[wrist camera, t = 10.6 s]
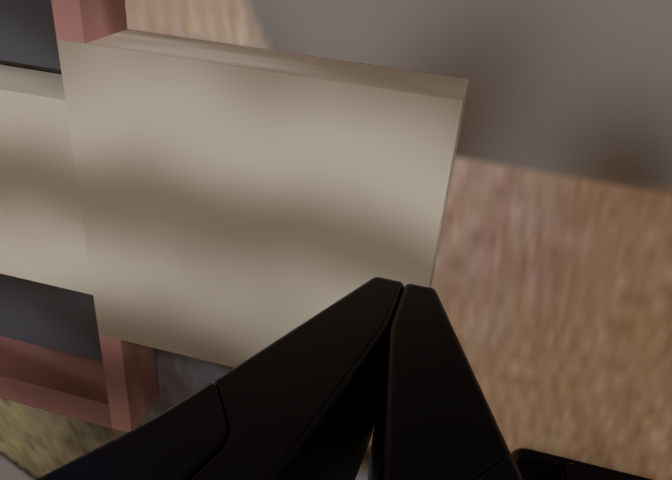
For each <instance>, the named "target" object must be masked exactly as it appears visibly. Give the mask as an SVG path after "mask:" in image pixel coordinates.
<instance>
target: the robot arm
mask: <svg viewBox="0 0 672 480" xmlns="http://www.w3.org/2000/svg"><path fill="white" fill-rule="evenodd" d="M373 429H374V432H373ZM372 432H373V438H372V446H371V453H370V462H369V471H368V480H650V479H646V478H642V477H638V476H634V475H630V474H626V473H622V472H618V471H614V470H610V469H606V468H602V467H598V466H594V465H590V464H586V463H581V462H577V461H573V460H569V459H565V458H561V457H557V456H553V455H549V454H545V453H541V452H537V451H533V450H527V449H524V450H520V451H519V452H517V454H516V455H515V458H514V459H512V458H511V453H510V451H509V449H508V447H507V444H506V442H505V440H504V438H503V436H502V434H501V431H500V429H499V427H498V425H497V423H496V421H495V418H494V416H493V414H492V412H491V410H490V408H489V405H488V403H487V401H486V399H485V397H484V395H483V392H482V390H481V388H480V386H479V384H478V382H477V379H476V377H475V375H474V373H473V371H472V369H471V366H470V364H469V362H468V360H467V358H466V356H465V353H464V351H463V349H462V347H461V345H460V343H459V340H458V338H457V336H456V334H455V332H454V330H453V327H452V325H451V323H450V321H449V319H448V317H447V314H446V312H445V310H444V308H443V306H442V303H441V301H440V299H439V297H438V295H437V293H436V291H435V290H434V289H433V288H430V287H425V286H420V285H416V284H411V283H410V284H406V285H405V286H404V285H403V283H402V282H400V281H396V280H391V279H387V278H382V277H374V278H372V279H371V280H369V281H368V282H366V283H364V284H363V285H361V286H360V287H358V288H357V289H355V290H354V291H352V292H351V293H349V294H347V295H346V296H344V297H343V298H341V299H340V300H338V301H337V302H335V303H334V304H332V305H330V306H329V307H327V308H326V309H324V310H323V311H321V312H320V313H318V314H317V315H315V316H313V317H312V318H310V319H309V320H307V321H306V322H304V323H303V324H301V325H300V326H298V327H296V328H295V329H293V330H292V331H290V332H289V333H287V334H286V335H284V336H283V337H281V338H279V339H278V340H276V341H275V342H273V343H272V344H270V345H269V346H267V347H266V348H264V349H262V350H261V351H259V352H258V353H256V354H255V355H253V356H252V357H250V358H249V359H247V360H245V361H244V362H242V363H241V364H239V365H238V366H236V367H235V368H233V369H232V370H230V371H228V372H227V373H225V374H224V375H222V376H221V377H219V378H218V379H216V381H215V383H213V382H212V383H210V384H208V385H206V386H205V387H203V388H202V389H200V390H199V391H197V392H196V393H194V394H193V395H191V396H189V397H188V398H186V399H184V400H183V401H181V402H180V403H178V404H176V405H175V406H173V407H171V408H170V409H168V410H166V411H165V412H163V413H161V414H160V415H158V416H156V417H155V418H153V419H151V420H149V421H147V422H146V423H144V424H142V425H140V426H138V427H136V428H135V429H133V430H131V431H129V432H127V433H125V434H123V435H122V436H120V437H118V438H116V439H114V440H112V441H110V442H108V443H106V444H105V445H103V446H101V447H99V448H97V449H95V450H93V451H91V452H89V453H87V454H85V455H83V456H81V457H79V458H77V459H75V460H73V461H71V462H69V463H67V464H65V465H63V466H61V467H60V468H58V469H56V470H54V471H52V472H50V473H48V474H46V475H44V476H42V477H40V478H38V479H36V480H355V478H356V476H357V473H358V471H359V468H360V465H361V463H362V460H363V458H364V455H365V453H366V450H367V447H368V444H369V442H370V439H371V436H372ZM524 461H530V463H529V462H524Z"/></svg>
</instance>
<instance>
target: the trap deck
mask: <svg viewBox="0 0 672 480" xmlns="http://www.w3.org/2000/svg"><path fill="white" fill-rule="evenodd" d="M0 60H3V61H9V62H15V63H21V64H27V65H34V66H40V67H46V68H52V69H58V70H61V73H62V74H57V73H51V72H45V71H39V70H33V69H26V68H20V67H14V66H8V65H2V64H0V398H3V399H7V400H11V401H14V402H18V403H21V404H25V405H29V406H32V407H36V408H40V409H43V410H47V411H51V412H54V413H58V414H61V415H65V416H69V417H72V418H76V419H80V420H83V421H87V422H91V423H94V424H98V425H101V426H105V427H109V428H112V429H116V430H120V431H123V432H129V431H131V430H133V429H135V428H136V427H137V426H138V425H139V423H140V422H141V421H142V419H143V418H144V417H145V415H146V414H147V412H148V411H149V410H150V408H151V407H152V406H153V404H154V403H155V401H156V400H157V399H158V397H159V392H158V381H157V369H156V358H155V348H156V349H160V350H164V351H168V352H172V353H177V354H181V355H185V356H189V357H193V358H197V359H201V360H205V361H209V362H213V363H217V364H221V365H225V366H229V367H234V368H235V367H236V366H238V365H239V364H241V363H242V362H244V361H245V360H247V359H249V358H250V357H252V356H253V355H255V354H256V353H258V352H259V351H261V350H262V349H264V348H266V347H267V346H269V345H270V344H272V343H273V342H275V341H276V340H278V339H279V338H281V337H283V336H284V335H286V334H287V333H289V332H290V331H292V330H293V329H295V328H296V327H298V326H300V325H301V324H303V323H304V322H306V321H307V320H309V319H310V318H312V317H313V316H315V315H317V314H318V313H320V312H321V311H323V310H324V309H326V308H327V307H329V306H330V305H332V304H334V303H335V302H337V301H338V300H340V299H341V298H343V297H344V296H346V295H347V294H349V293H351V292H352V291H354V290H355V289H357V288H358V287H360V286H361V285H363V284H364V283H366V282H368V281H369V280H371V279H372V278H374V277H382V278H387V279H391V280H396V281H400V282H402V283H403V285H404V286H405V285H406V284H410V283H411V284H416V285H420V286H425V287H430V288H431V283H432V278H433V273H434V267H435V262H436V256H437V251H438V246H439V240H440V235H441V230H442V224H443V219H444V213H445V208H446V203H447V197H448V192H449V186H450V181H451V176H452V170H453V165H454V160H455V154H456V149H457V143H458V138H459V133H460V127H461V122H462V116H463V110H464V106H465V100H466V94H467V90H468V84H469V79H466V78H459V77H452V76H445V75H439V74H431V73H424V72H418V71H411V70H404V69H397V68H390V67H383V66H376V65H369V64H362V63H355V62H349V61H342V60H335V59H328V58H320V57H314V56H307V55H300V54H293V53H286V52H279V51H273V50H266V49H259V48H252V47H245V46H238V45H231V44H224V43H217V42H210V41H203V40H196V39H189V38H183V37H176V36H169V35H162V34H155V33H148V32H141V31H134V30H127V26H126V14H125V3H124V0H0Z"/></svg>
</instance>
